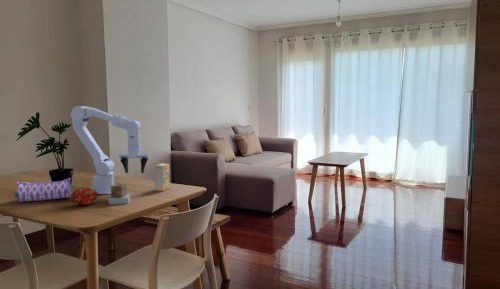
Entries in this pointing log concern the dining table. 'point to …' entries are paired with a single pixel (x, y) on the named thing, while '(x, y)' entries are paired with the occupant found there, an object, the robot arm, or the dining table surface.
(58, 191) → the pencil case
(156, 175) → the supplement box
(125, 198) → the grey flat square block
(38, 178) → the dining table surface
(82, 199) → the dragon fruit
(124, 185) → the walnut cube
